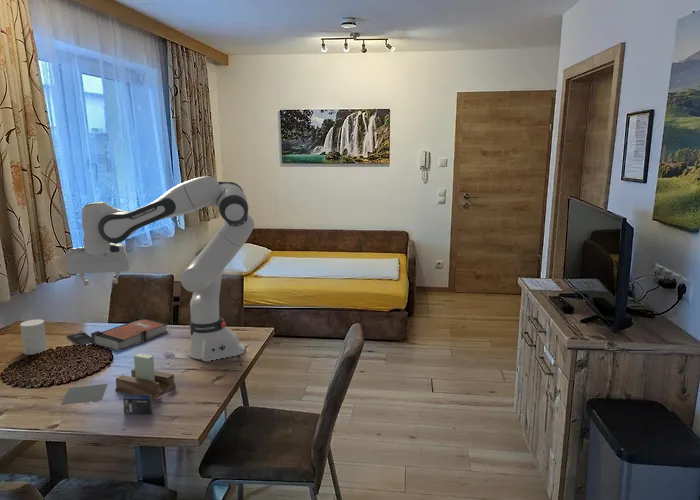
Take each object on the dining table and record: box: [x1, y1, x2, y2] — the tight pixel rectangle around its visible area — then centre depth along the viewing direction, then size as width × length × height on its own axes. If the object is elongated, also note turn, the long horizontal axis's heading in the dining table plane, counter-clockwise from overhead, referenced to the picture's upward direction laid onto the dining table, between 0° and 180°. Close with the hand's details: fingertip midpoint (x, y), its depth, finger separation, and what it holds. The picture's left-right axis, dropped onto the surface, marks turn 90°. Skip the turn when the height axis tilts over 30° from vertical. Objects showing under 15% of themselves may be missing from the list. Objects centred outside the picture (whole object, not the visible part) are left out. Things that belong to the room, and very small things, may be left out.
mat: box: [60, 383, 108, 406], centre depth 163 cm, size 12×12×1 cm
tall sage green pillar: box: [133, 353, 155, 382], centre depth 167 cm, size 2×6×11 cm, turn 70°
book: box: [90, 315, 169, 352], centre depth 215 cm, size 26×18×5 cm
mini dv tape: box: [122, 393, 153, 415], centre depth 152 cm, size 8×2×6 cm, turn 90°
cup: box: [20, 318, 48, 356], centre depth 198 cm, size 8×8×12 cm
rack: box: [114, 367, 176, 401], centre depth 168 cm, size 11×16×5 cm
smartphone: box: [66, 332, 92, 346], centre depth 212 cm, size 8×1×15 cm
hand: (101, 284), depth 177 cm, fingers open, 8 cm apart
